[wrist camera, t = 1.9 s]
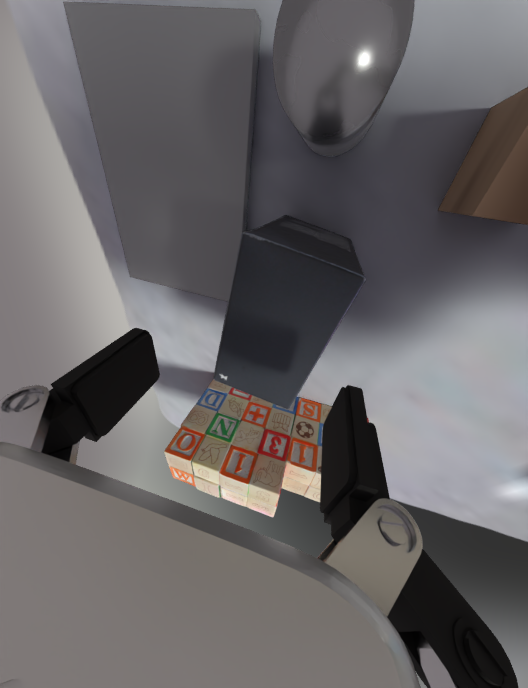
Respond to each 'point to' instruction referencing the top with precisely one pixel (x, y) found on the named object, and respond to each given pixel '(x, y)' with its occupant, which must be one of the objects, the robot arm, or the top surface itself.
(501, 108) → the walnut block
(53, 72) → the top surface
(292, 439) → the stack of blocks
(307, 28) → the metallic grey egg
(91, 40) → the slate board
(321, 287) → the small box
